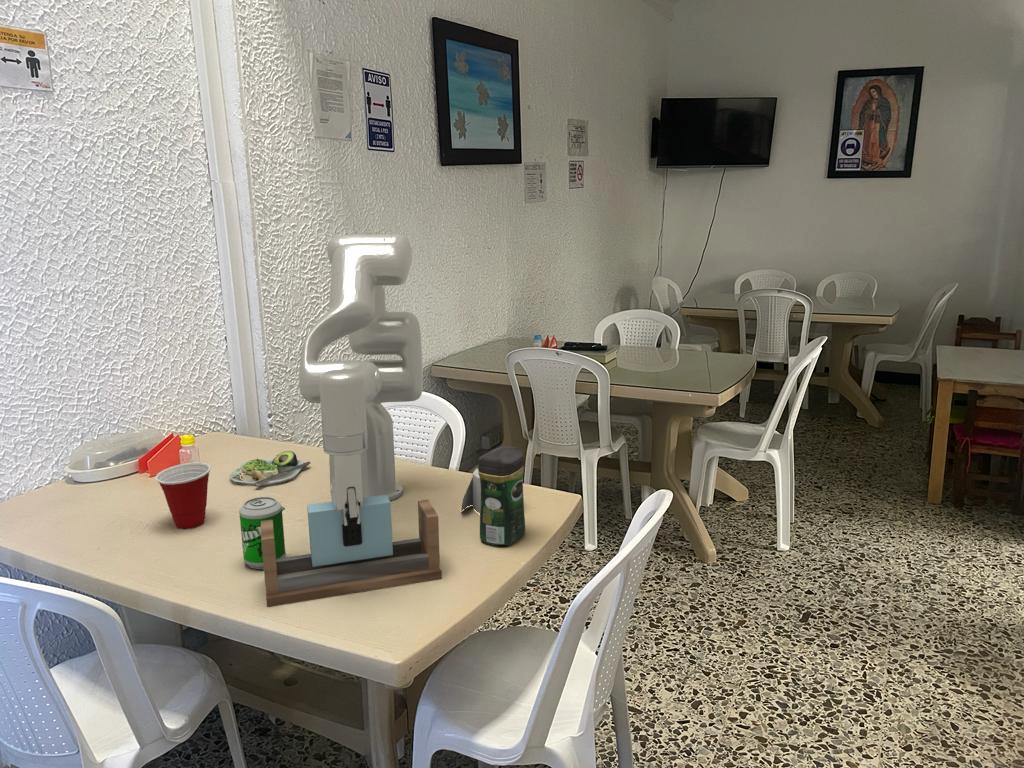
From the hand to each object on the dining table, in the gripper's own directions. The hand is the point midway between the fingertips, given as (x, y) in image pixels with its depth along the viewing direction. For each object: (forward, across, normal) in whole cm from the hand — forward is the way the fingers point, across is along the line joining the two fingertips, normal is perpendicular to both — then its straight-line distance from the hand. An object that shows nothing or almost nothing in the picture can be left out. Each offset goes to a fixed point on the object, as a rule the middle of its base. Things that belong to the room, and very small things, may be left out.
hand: (351, 538), depth 135 cm
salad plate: (+8, -63, -13) cm, 65 cm away
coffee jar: (+8, -8, +31) cm, 33 cm away
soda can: (+8, -12, -15) cm, 21 cm away
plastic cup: (+8, -36, -30) cm, 48 cm away
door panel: (+3, 0, 0) cm, 3 cm away
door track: (+8, 0, 0) cm, 8 cm away
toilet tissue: (+8, -22, +32) cm, 40 cm away
